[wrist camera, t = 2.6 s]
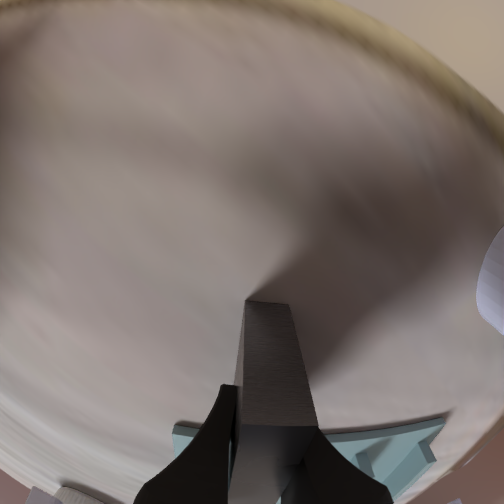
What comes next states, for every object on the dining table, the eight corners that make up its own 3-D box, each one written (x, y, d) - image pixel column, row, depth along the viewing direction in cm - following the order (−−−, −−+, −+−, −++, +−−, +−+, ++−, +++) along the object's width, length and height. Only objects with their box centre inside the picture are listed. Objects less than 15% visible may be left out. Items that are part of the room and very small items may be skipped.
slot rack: (442, 417, 17) (458, 443, 14) (363, 504, 22) (368, 524, 19) (174, 424, 16) (164, 464, 13) (185, 508, 21) (182, 530, 18)
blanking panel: (288, 304, 13) (318, 425, 6) (262, 416, 15) (267, 516, 9) (245, 300, 13) (241, 423, 6) (230, 414, 15) (224, 514, 9)
